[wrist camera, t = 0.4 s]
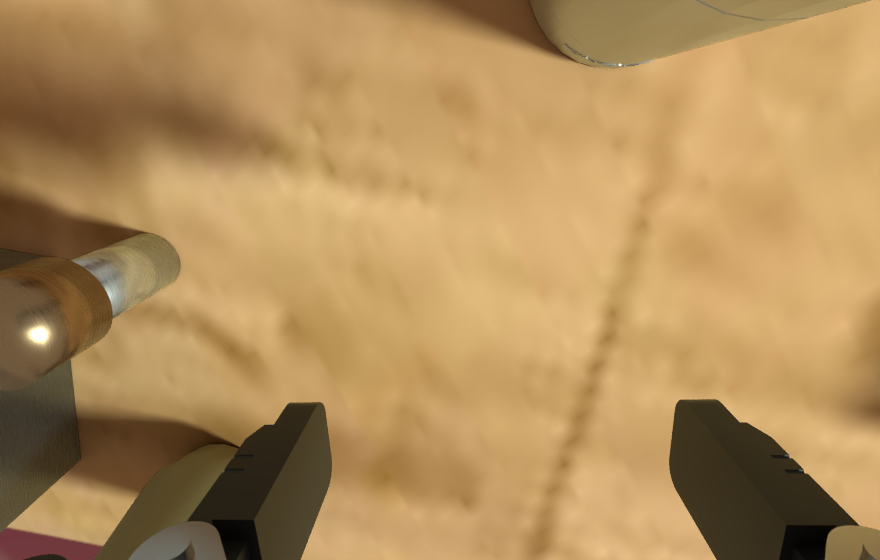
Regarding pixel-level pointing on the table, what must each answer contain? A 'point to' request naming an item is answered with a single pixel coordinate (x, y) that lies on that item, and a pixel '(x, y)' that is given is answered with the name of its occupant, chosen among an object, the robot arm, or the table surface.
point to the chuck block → (35, 430)
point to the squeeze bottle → (167, 499)
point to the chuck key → (74, 302)
